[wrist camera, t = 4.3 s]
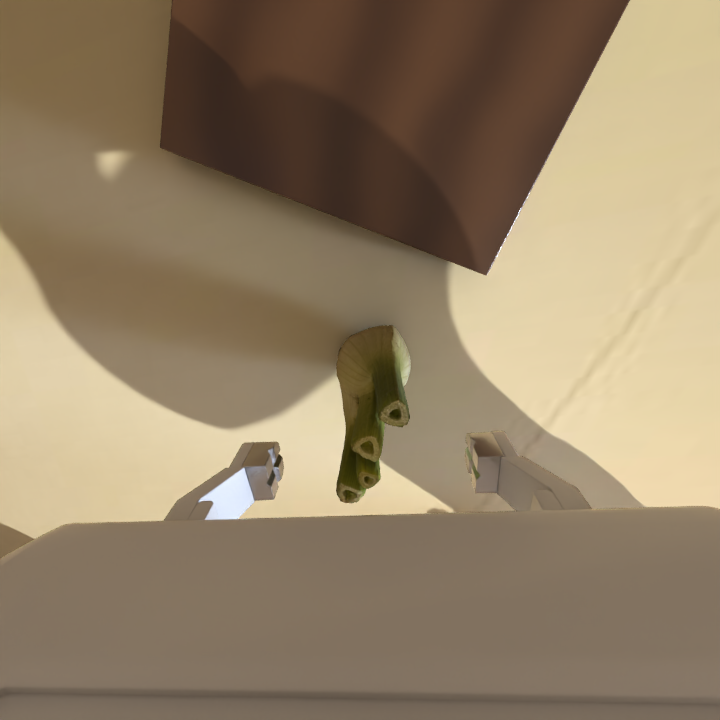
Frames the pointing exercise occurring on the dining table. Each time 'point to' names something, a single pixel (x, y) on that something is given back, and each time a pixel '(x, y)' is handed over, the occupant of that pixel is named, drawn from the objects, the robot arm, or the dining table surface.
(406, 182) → the cutting board
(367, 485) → the fennel bulb
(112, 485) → the dining table surface
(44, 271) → the dining table surface
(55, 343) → the dining table surface
